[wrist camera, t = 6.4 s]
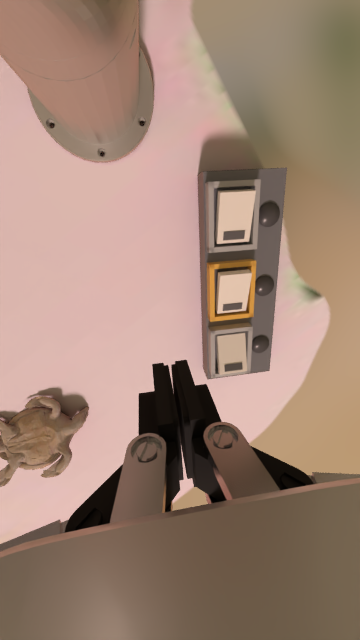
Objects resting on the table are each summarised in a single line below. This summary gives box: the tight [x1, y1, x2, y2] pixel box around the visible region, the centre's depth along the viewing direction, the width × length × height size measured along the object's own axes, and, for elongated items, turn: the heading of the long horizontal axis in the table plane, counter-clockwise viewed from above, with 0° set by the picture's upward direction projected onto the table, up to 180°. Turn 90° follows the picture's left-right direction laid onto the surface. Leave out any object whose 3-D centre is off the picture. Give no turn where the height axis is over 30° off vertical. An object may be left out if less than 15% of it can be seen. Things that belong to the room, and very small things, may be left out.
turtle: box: [0, 396, 89, 487], centre depth 39 cm, size 16×10×10 cm, turn 129°
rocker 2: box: [216, 332, 247, 375], centre depth 37 cm, size 6×4×1 cm
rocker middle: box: [215, 269, 252, 314], centre depth 33 cm, size 6×4×1 cm
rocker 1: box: [215, 189, 256, 244], centre depth 30 cm, size 6×4×1 cm
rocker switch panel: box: [198, 168, 287, 379], centre depth 36 cm, size 28×10×4 cm, turn 3°
